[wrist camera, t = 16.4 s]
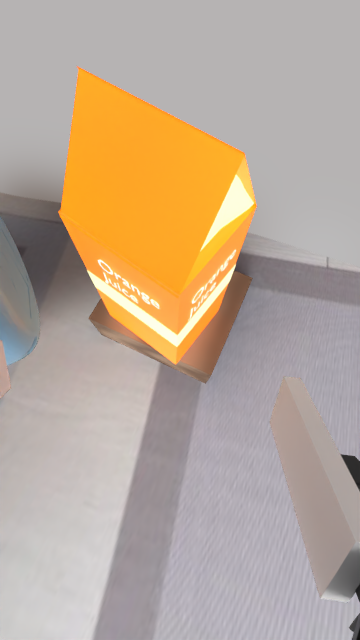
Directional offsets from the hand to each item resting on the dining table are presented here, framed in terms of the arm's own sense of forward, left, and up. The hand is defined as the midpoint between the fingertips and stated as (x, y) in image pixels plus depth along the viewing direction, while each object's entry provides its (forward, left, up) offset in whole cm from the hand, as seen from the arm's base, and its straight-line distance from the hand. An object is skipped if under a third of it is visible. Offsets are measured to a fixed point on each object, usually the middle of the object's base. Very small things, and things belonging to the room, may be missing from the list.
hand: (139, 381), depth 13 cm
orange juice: (-3, +9, -14) cm, 17 cm away
